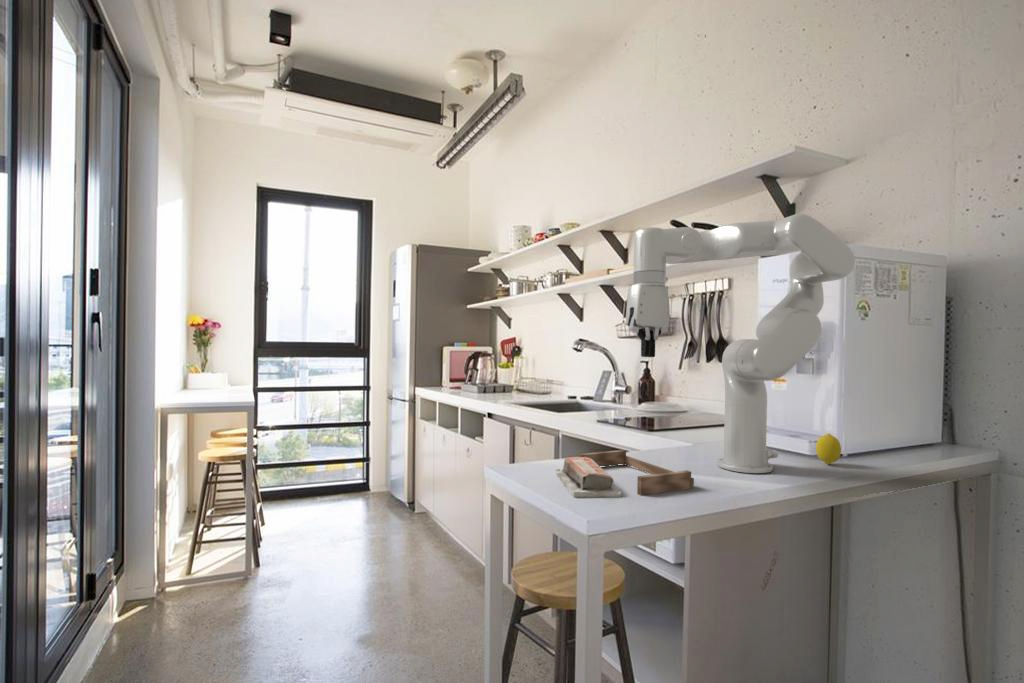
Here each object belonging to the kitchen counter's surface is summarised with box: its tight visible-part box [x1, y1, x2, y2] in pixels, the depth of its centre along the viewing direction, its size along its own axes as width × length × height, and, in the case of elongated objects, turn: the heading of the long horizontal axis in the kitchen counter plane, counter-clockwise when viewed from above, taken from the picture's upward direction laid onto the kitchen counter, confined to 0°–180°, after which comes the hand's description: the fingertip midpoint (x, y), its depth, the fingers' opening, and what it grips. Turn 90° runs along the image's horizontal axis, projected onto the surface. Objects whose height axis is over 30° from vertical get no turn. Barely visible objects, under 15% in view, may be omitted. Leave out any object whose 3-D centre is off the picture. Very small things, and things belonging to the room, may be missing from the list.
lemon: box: [815, 433, 842, 465], centre depth 136 cm, size 6×6×8 cm
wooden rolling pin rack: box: [577, 449, 695, 496], centre depth 120 cm, size 14×23×4 cm, turn 26°
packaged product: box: [555, 456, 622, 498], centre depth 114 cm, size 18×5×10 cm
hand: (647, 356), depth 128 cm, fingers closed
